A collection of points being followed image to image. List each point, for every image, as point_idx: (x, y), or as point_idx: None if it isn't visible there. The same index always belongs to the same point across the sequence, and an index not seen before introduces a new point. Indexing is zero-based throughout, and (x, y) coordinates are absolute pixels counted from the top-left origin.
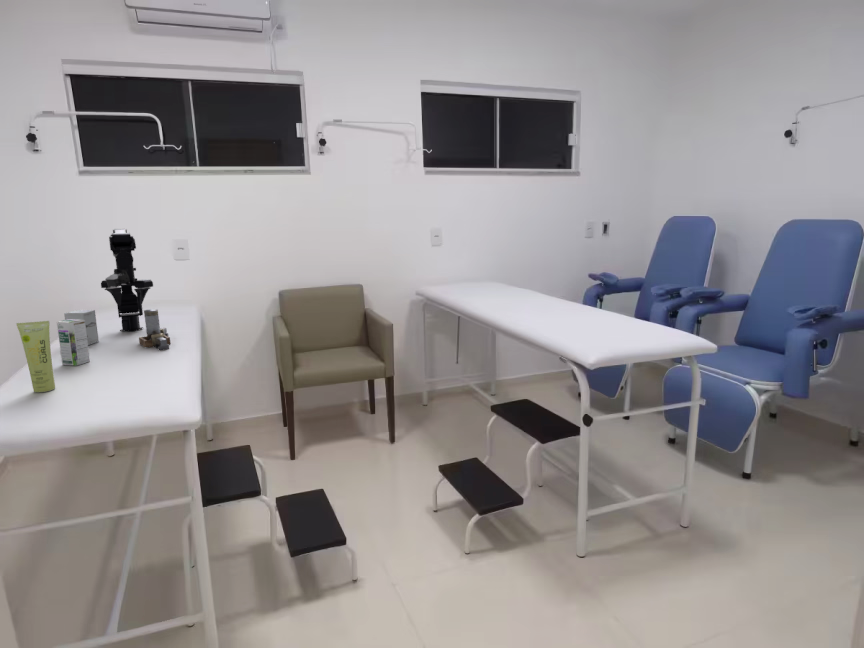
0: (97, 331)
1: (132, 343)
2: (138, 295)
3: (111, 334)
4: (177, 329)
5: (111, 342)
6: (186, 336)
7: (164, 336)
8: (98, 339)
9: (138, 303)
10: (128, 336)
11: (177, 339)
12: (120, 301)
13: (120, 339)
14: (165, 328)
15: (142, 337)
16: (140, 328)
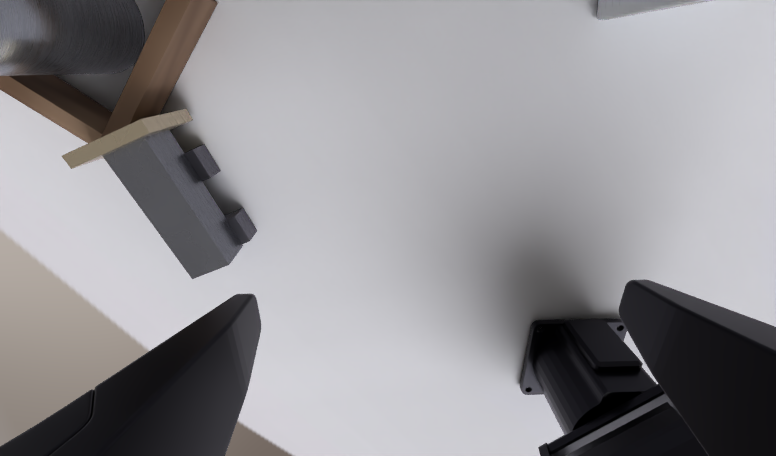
0: (650, 7)
1: (287, 9)
2: (56, 445)
3: (631, 246)
4: (317, 404)
5: (480, 15)
6: (102, 272)
7: (18, 81)
8: (605, 16)
9: (232, 313)
10: (482, 214)
11: (76, 188)
12: (658, 366)
13: (477, 123)
14: (179, 260)
15: (165, 4)
16: (524, 374)
